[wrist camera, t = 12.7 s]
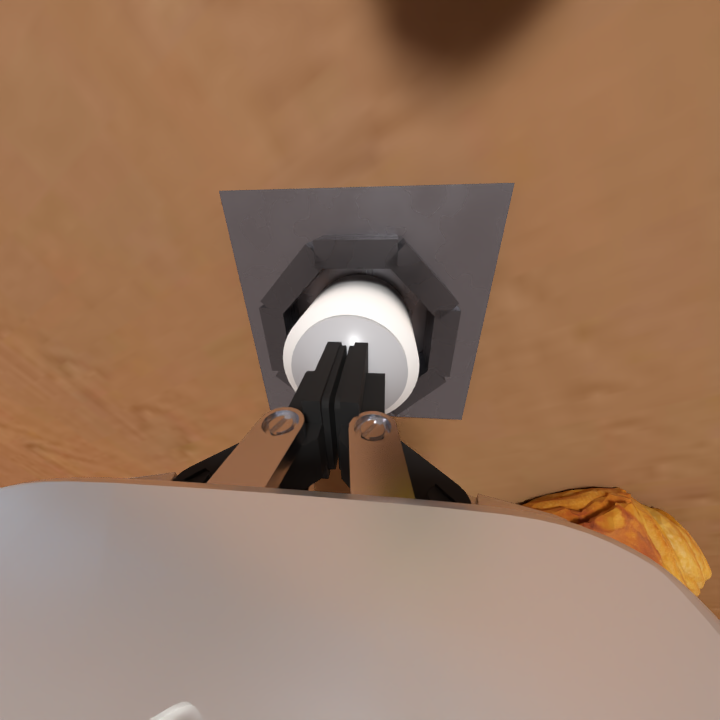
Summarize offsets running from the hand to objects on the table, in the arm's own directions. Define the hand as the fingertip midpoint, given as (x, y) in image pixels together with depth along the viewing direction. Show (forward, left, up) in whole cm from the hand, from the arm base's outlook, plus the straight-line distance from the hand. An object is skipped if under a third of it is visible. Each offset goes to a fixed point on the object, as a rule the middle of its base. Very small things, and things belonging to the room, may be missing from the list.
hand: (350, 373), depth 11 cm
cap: (0, 0, -5) cm, 5 cm away
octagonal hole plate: (0, 0, -6) cm, 6 cm away
